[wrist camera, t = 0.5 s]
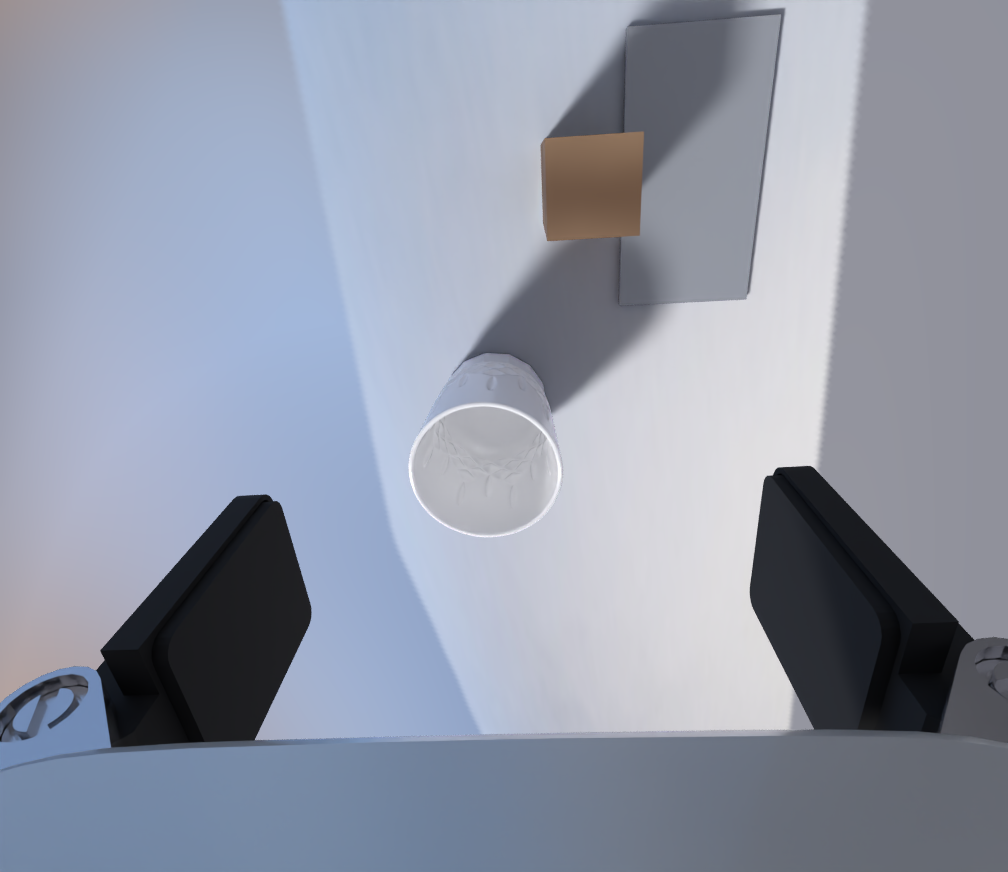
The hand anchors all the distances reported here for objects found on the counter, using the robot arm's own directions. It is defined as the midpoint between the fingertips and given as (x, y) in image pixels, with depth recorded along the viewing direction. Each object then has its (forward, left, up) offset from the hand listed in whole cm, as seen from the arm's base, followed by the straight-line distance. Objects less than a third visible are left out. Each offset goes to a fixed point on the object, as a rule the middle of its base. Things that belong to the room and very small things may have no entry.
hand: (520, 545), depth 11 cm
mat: (-6, +9, -26) cm, 28 cm away
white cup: (+7, -2, -26) cm, 27 cm away
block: (-6, +3, -26) cm, 27 cm away
